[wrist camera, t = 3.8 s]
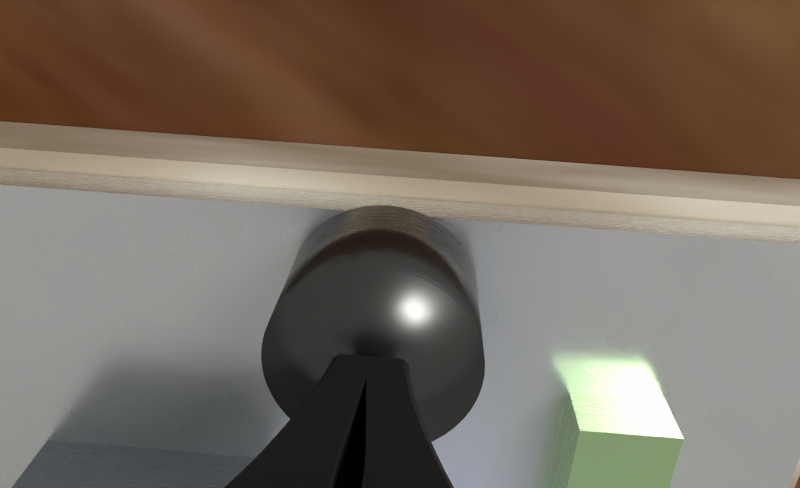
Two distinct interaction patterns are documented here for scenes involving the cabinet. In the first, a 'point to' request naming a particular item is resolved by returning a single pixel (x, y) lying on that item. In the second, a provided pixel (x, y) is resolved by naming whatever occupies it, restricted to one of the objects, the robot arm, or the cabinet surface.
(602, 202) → the leveling base
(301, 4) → the cabinet surface
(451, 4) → the cabinet surface
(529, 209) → the leveling plate
